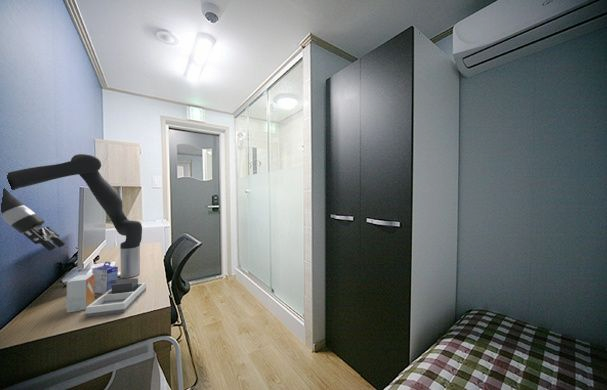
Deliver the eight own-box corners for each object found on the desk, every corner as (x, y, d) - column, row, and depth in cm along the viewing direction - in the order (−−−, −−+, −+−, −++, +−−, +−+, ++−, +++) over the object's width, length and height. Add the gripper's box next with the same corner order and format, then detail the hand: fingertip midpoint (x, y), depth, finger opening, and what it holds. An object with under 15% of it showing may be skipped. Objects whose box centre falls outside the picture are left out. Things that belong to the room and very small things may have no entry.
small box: (86, 309, 91) (86, 279, 91) (66, 313, 88) (65, 282, 88) (95, 300, 98) (94, 273, 98) (76, 304, 96) (76, 275, 95)
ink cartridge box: (118, 289, 110) (118, 261, 110) (106, 294, 104) (106, 265, 104) (103, 287, 112) (103, 260, 112) (91, 292, 106) (91, 264, 106)
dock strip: (115, 293, 106) (115, 278, 105) (146, 290, 109) (146, 275, 109) (85, 317, 85) (85, 298, 85) (124, 312, 89) (124, 294, 89)
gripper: (23, 213, 82) (60, 243, 87) (43, 212, 94) (74, 239, 99) (-1, 226, 79) (38, 257, 84) (22, 224, 91) (56, 250, 96)
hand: (58, 247), depth 91 cm, fingers open, 8 cm apart
